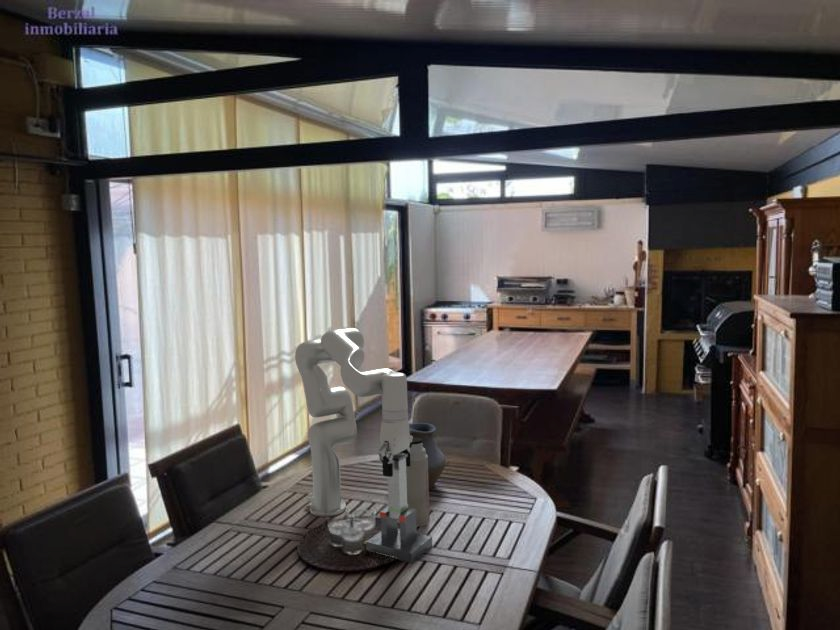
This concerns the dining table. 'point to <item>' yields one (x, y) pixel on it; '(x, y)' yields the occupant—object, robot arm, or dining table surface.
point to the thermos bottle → (418, 482)
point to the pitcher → (429, 450)
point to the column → (397, 486)
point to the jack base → (399, 537)
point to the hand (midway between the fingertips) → (396, 470)
